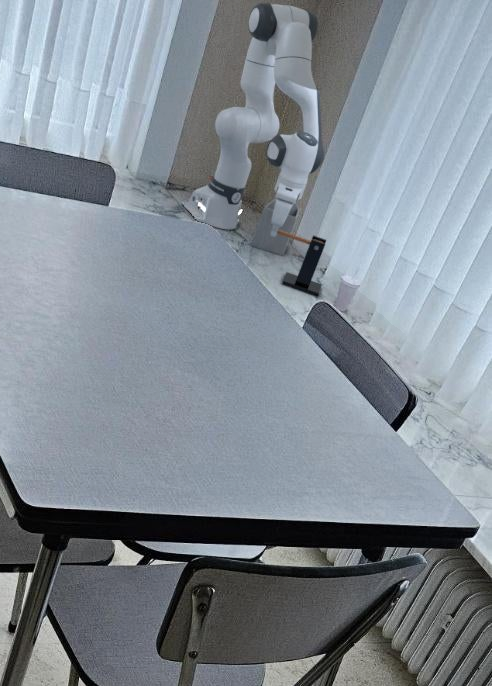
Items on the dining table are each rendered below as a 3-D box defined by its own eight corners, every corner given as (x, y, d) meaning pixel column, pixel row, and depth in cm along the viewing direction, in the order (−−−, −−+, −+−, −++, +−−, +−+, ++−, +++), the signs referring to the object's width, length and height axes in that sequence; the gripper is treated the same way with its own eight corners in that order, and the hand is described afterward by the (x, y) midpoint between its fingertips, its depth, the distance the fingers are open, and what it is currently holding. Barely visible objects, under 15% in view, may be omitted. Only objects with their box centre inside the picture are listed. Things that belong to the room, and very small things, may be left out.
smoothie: (349, 315, 312) (366, 274, 304) (329, 308, 312) (346, 267, 304) (349, 307, 317) (366, 267, 309) (330, 301, 317) (346, 260, 309)
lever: (270, 235, 313) (272, 228, 311) (272, 230, 317) (274, 223, 316) (319, 252, 312) (322, 245, 311) (320, 247, 316) (323, 240, 315)
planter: (264, 255, 335) (284, 199, 324) (250, 244, 340) (269, 189, 329) (299, 255, 345) (319, 201, 334) (285, 245, 349) (304, 191, 338)
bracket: (282, 284, 318) (299, 237, 309) (285, 275, 325) (302, 229, 316) (317, 296, 317) (336, 250, 308) (320, 287, 325) (338, 241, 316)
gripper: (283, 177, 315) (269, 219, 323) (276, 193, 298) (261, 237, 306) (302, 183, 315) (287, 225, 323) (296, 200, 298) (280, 243, 306)
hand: (274, 231), depth 314 cm, fingers open, 8 cm apart
